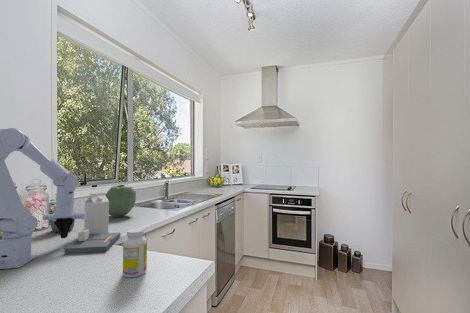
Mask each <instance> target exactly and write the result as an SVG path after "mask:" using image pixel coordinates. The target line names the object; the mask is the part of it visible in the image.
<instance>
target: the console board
mask: <svg viewBox="0 0 470 313" xmlns="http://www.w3.org/2000/svg"><path fill="white" fill-rule="evenodd" d="M120 238H121V232H108V233H97V234H89V238H88V239H87V240H85V241H78V238H76V239H75V240H74V241H73V242H72V243H71V244H69V245H68V246H66V247H65V248H64V255H71V254H72V255H73V254H75V255H76V254H87V253H107V252H108V251H109V250H110V249H111V248H112V247H113V245H115V243H117V241H119V239H120Z"/></svg>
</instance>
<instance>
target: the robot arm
mask: <svg viewBox="0 0 470 313" xmlns="http://www.w3.org/2000/svg"><path fill="white" fill-rule="evenodd" d="M13 152H20V153H22V154H23V155H24V156H26V157H28V158H29V159H30V160H32V161H33V162H34V163H36V164H37V165H39V170H40V172H42V173H43V174H44V175H46V176H47V177H48V178H50V179H51V180H52V184H53V186H55V187H56V199H55V200H56V201H55V202H56V203H55V206H56V214H53V213H46V214H42V221H47V220H48V221H49V220H51V221H52V220H54V219H56V221H55V222H54V224H55V225H56V226H57V228H58V230H59V232H58V233H59V235H60V239H66V238H68V236H69V235H68V234H69V232H70V231H69V229H70V227H71V225H72V223H73V221H74V219H75V220H77V219H78V220H85V218H86V213H85V212H75V209H74V208H75V192H76V187H77V185H79V184H78V183H79V179H78V177H77V175H76V174H75V173H71V172H69V169H67V168H65V167H64V166H63V165H61V163H60V161H59V160H55V159H49V158H48V157H47V156H46V155H45V153H43V151H41V150H40V149H39V148H38V147H37V146H36V145H35V144H34V143H33V142H32V141H31V139H30V138H29V136H28V135H26V134H24V133H23V132H22V131H21V130H20V129H19V128H16V127H15V128H14V127H11V128H10V127H7V128H0V232H1V233H2V235H1V236H2V238H1V240H0V270H2V269H3V270H6V269H19V268H20V267H23V266H24V265H25V264H28V263H29V262H30V261H32V260H34V259H35V258H37V257H38V255H37V254H35V255H32V239H33V232H34V231H35V230H36V229H37V227H38V219H37V218H36V216H34V215H33V214H32V213H31V210H30V209H28V208H27V207H26V206H24V204H23V203H22V200H21V198H20V195H19V194H18V193H19V192H18V191H17V190H18V189H17V188H16V186H15V183H14V180H13V178H12V176H11V173H10V171H9V168H8V166H7V163H6V159H7V158H8V157H9V156H10V154H12V153H13ZM66 217H68V218H66Z"/></svg>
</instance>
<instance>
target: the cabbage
mask: <svg viewBox="0 0 470 313" xmlns="http://www.w3.org/2000/svg"><path fill="white" fill-rule="evenodd" d="M105 196H106V197H107V199H108V200H109V216H111V217H114V218H122V217H124V216H126V215H128V214H130V212H131V211H132V209H133V208H134V207H135V205H136V199H137V191H136V190H134V188H133V187H132V186H131V185H129V184H128V183H124V184H120V185H113V186H111V187H110V188H109V189H108V190H107V192H106V193H105Z"/></svg>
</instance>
